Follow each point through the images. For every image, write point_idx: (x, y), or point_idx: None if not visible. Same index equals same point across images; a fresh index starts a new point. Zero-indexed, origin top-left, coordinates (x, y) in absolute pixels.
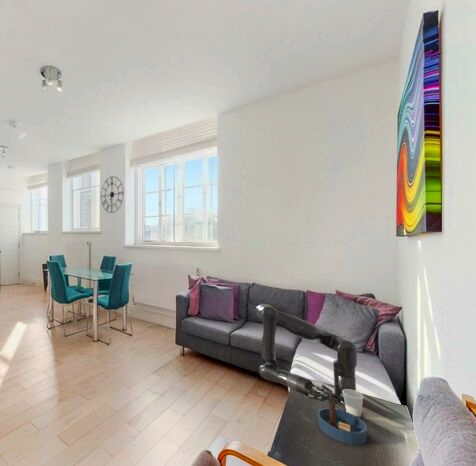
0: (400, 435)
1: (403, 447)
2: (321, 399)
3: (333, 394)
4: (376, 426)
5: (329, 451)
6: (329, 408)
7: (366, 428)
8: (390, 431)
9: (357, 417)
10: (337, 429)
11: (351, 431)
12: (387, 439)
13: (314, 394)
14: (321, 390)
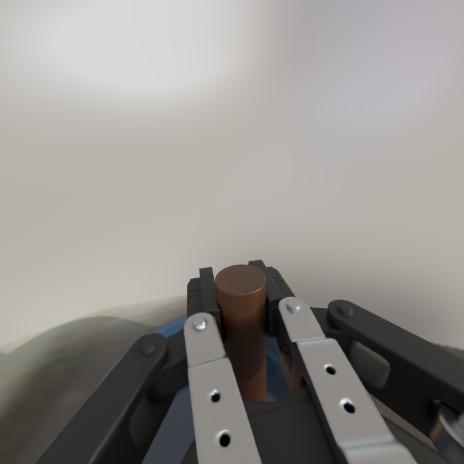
0: (53, 341)
1: (127, 311)
2: (354, 348)
3: (242, 266)
4: (24, 405)
5: None
6: (264, 393)
7: (177, 319)
8: (41, 363)
9: (104, 379)
10: None
11: (176, 410)
12: (114, 342)
13: (455, 360)
14: (250, 413)
